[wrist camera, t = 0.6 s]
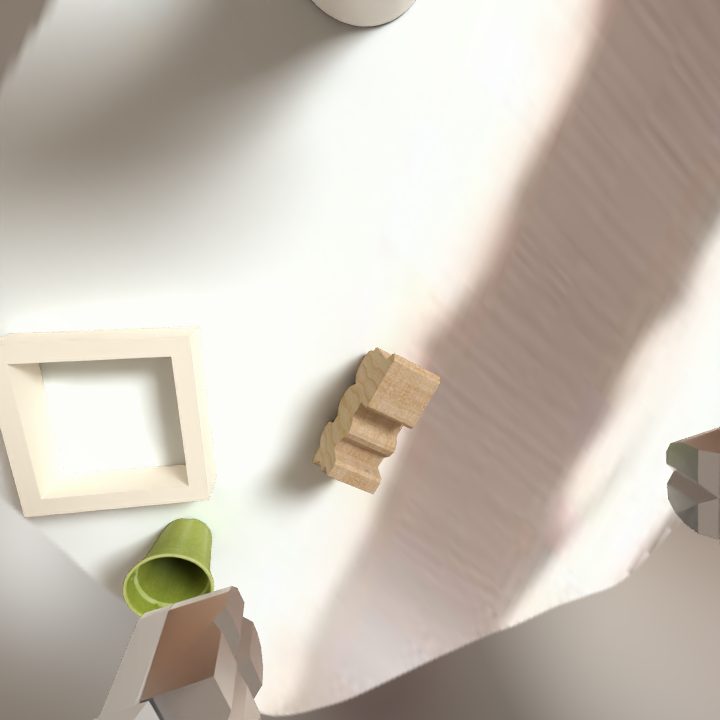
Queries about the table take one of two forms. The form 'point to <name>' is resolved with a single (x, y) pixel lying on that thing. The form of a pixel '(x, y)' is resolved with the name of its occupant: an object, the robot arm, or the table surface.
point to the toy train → (373, 418)
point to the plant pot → (171, 568)
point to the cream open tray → (37, 437)
